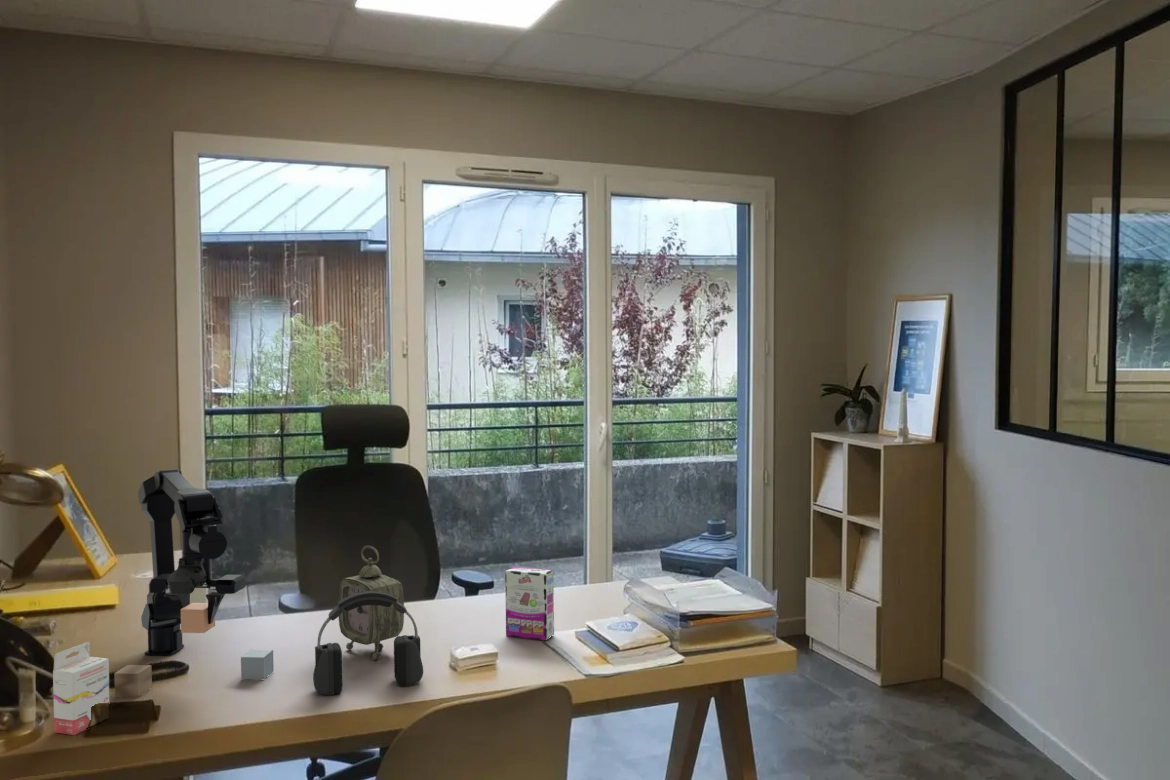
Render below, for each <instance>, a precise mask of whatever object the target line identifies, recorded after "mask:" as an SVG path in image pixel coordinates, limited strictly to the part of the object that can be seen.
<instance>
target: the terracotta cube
mask: <svg viewBox="0 0 1170 780" xmlns="http://www.w3.org/2000/svg"><path fill="white" fill-rule="evenodd" d="M214 627H216V617H215V618H214V620H213V622H212V623H211V624H208V602H191V603H190V604H189V605H187V606H186V607H184V608H182V609H181V624H180V630H181V633H182V634H183V633H184V634H205V633H207V632H208V631H210V630H211V629H212V628H213V629H214Z"/></svg>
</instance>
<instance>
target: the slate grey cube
mask: <svg viewBox="0 0 1170 780" xmlns="http://www.w3.org/2000/svg"><path fill="white" fill-rule="evenodd" d="M274 667H275V665H274V649H253V648H251V649H250V650H248V651H247V652H245V653H244V654H243V655H241V656H240V673H241V674H240V677H241V679H265V678H266V677H267V676H268V675H270V674H271V673H272V672H273V671H275V670H274ZM273 673H274V672H273ZM273 673H272V674H273ZM272 674H271V675H272ZM271 675H270V676H271ZM267 678H268V677H267ZM267 678H266V679H267ZM241 679H240V680H241ZM266 679H265V680H266Z"/></svg>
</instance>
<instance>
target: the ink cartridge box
mask: <svg viewBox="0 0 1170 780" xmlns="http://www.w3.org/2000/svg"><path fill="white" fill-rule="evenodd" d="M90 647H91V642H90V641H87V642H84V643H81V644H78V645H75V646H73V647H69V648H67V649H64V650H61V651H59V652H56V653H55V654H54V657H53V659H54V660H53V671H52V680H53V681H52V683H53V684H52V689H53V690H52V691H53V695H52V696H53V730H54V731H53V733H58V734H63V735H64V734H65V735H69V736H77V734H81V732H83V731H86V730H87V729H86V728H87V727H88V724H89V722H90V720H91V707H92V706H94V705H95V704H98V703H103V702H109V703H110V664H109V663H110V659H109V658H104V657H97V656H90V652H91V651H90V649H91V648H90ZM77 652H78V653H77ZM72 653H77V654H76V655H73V656H70V657H67V656H69V655H71V654H72Z"/></svg>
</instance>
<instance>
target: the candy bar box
mask: <svg viewBox="0 0 1170 780" xmlns="http://www.w3.org/2000/svg"><path fill="white" fill-rule="evenodd" d="M504 579H505V580H504V582H505V636H506V637H509V638H516V639H517V638H519V639H525V640H527V639H528V640H535V641H544V640H547V639H548V638H549V637H550V636H552V635H554V636H555V617H554V616H555V612H554V610H555V608H554V607H555V606H554V600H555V599H554V594H555V593H554V590H555V589H554V569H553V570H552V569H545V568H544V569H543V568H531V567H530V568H529V567H521V566H520V567H516V566H513V567H510V568H508V569H507V570H505V572H504ZM548 640H549V639H548ZM548 640H547V641H548ZM544 642H545V641H544Z"/></svg>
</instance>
